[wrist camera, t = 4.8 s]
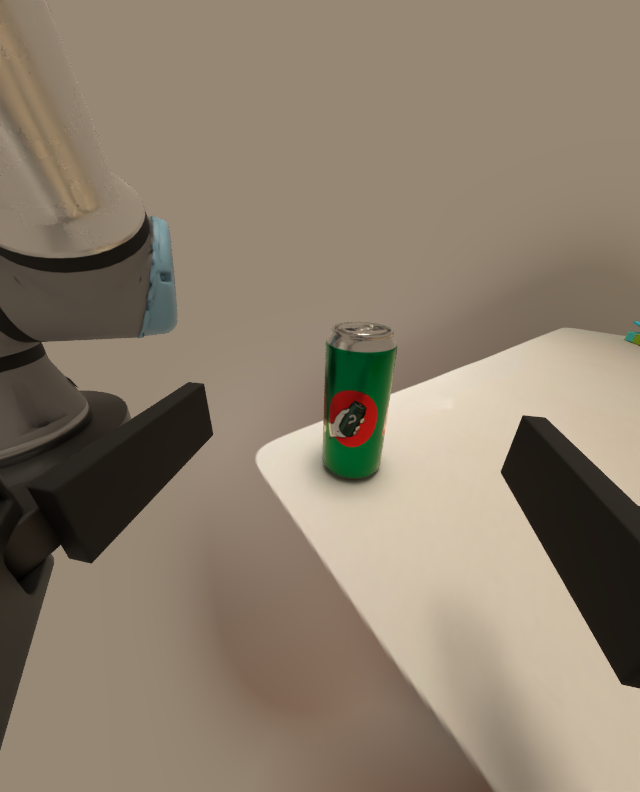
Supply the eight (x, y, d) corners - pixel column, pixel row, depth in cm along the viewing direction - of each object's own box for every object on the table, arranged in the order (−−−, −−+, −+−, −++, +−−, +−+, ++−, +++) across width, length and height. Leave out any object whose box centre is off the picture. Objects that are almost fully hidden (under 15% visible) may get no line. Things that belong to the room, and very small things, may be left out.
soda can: (391, 474, 24) (415, 333, 18) (337, 490, 22) (346, 340, 17) (361, 441, 28) (373, 319, 22) (314, 452, 26) (315, 322, 21)
